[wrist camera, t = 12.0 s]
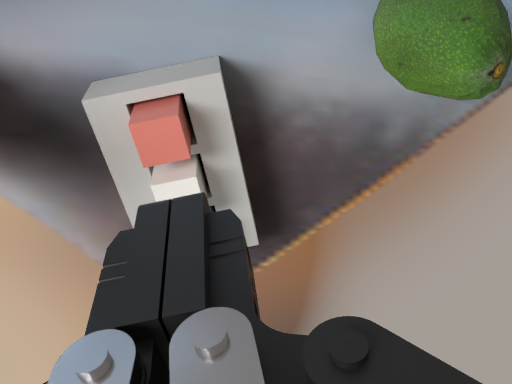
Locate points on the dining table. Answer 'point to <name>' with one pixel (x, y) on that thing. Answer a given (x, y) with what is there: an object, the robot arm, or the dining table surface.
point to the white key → (178, 179)
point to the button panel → (202, 134)
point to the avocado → (444, 45)
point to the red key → (161, 130)
